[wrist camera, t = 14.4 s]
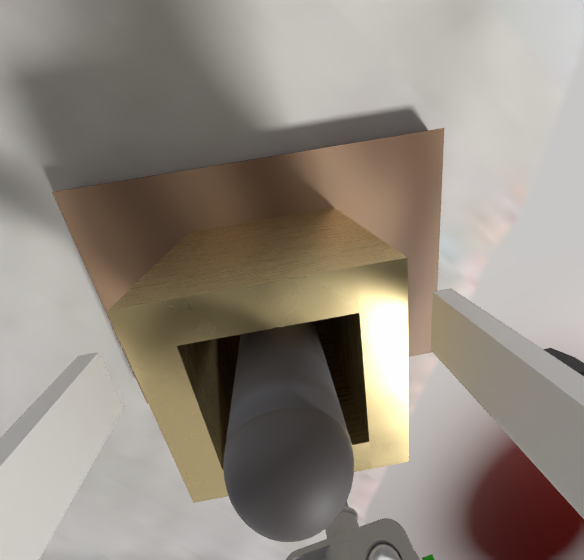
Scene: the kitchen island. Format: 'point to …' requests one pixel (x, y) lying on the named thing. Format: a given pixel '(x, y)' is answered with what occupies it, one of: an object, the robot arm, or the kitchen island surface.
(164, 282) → the hollow square tube
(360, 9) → the kitchen island surface
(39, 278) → the kitchen island surface
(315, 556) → the mechanical component
